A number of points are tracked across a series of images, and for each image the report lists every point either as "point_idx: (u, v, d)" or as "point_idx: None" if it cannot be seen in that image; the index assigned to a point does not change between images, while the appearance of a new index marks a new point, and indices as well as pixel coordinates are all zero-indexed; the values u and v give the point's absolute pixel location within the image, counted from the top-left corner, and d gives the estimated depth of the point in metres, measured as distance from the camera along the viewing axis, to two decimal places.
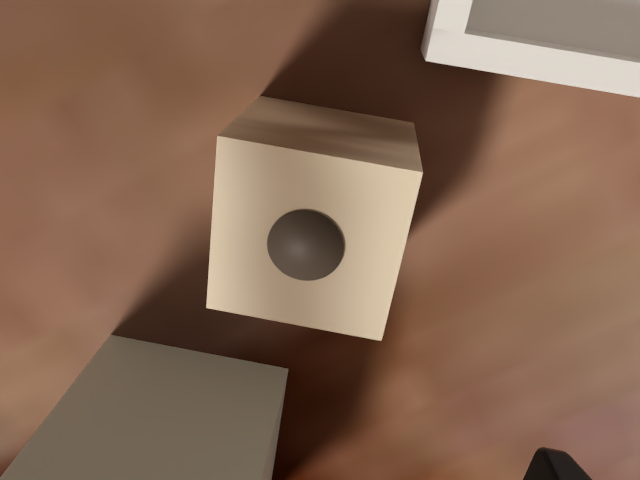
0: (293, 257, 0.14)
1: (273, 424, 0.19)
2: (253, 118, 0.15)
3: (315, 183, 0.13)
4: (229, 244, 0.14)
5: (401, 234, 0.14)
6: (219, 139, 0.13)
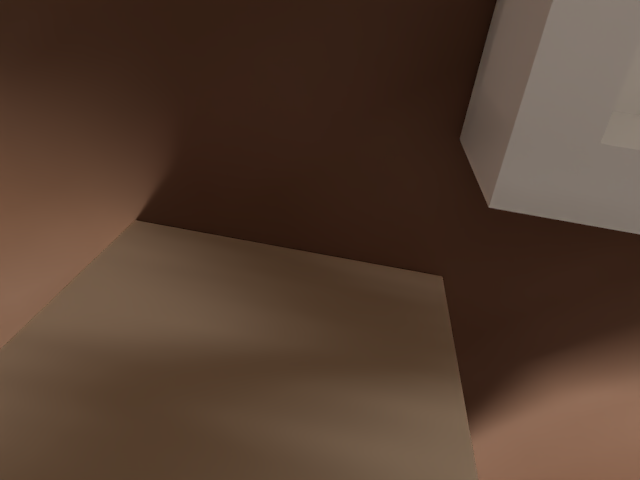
0: None
1: None
2: (63, 329, 0.06)
3: None
4: None
5: None
6: None
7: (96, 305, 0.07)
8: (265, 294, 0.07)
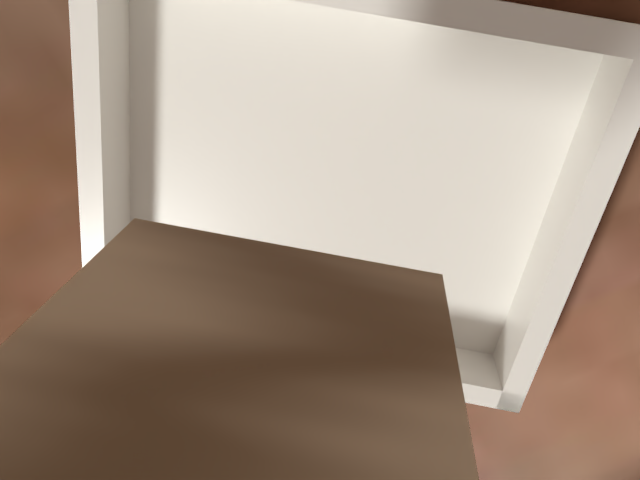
0: None
1: None
2: (62, 327, 0.06)
3: None
4: None
5: None
6: None
7: (95, 303, 0.07)
8: (265, 292, 0.07)
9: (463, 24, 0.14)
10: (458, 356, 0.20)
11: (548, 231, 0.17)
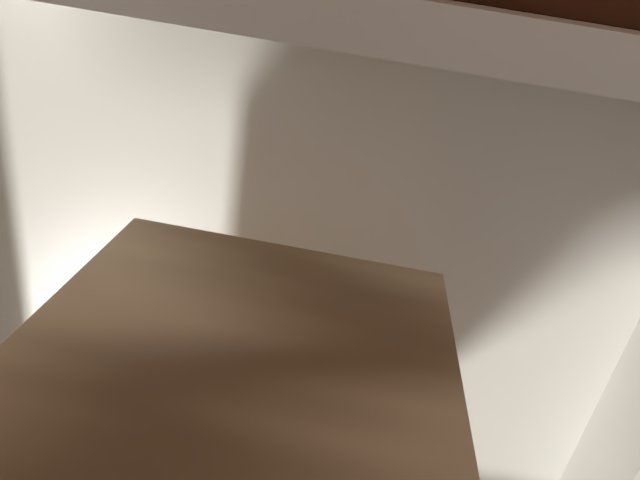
0: None
1: None
2: (62, 326, 0.06)
3: None
4: None
5: None
6: None
7: (95, 302, 0.07)
8: (265, 291, 0.07)
9: (508, 69, 0.07)
10: None
11: (633, 387, 0.11)
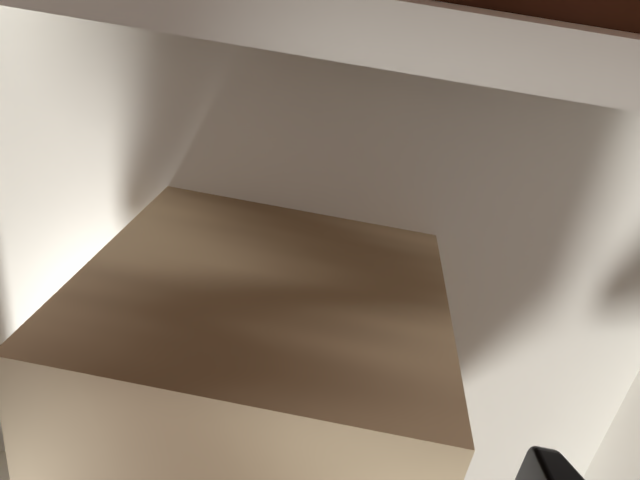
0: None
1: None
2: (119, 265, 0.07)
3: (224, 455, 0.06)
4: None
5: None
6: None
7: (144, 248, 0.08)
8: (284, 244, 0.09)
9: (519, 80, 0.07)
10: None
11: None
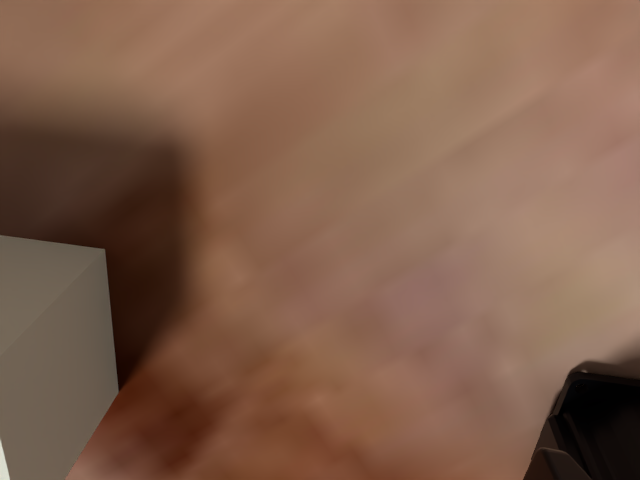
0: None
1: (64, 289, 0.19)
2: None
3: None
4: None
5: None
6: None
7: None
8: None
9: None
10: None
11: None
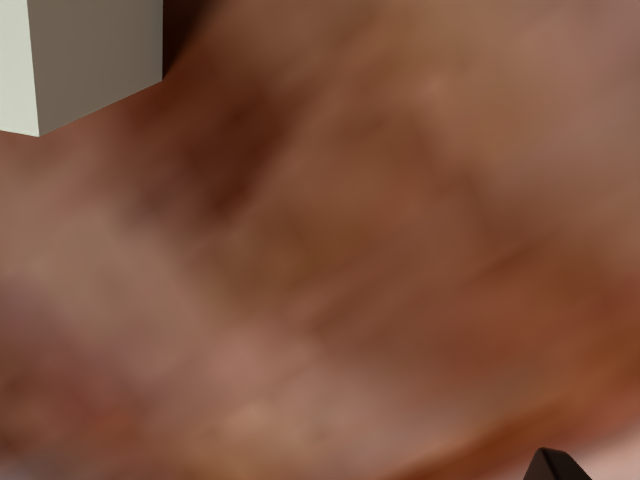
0: None
1: None
2: None
3: None
4: None
5: None
6: None
7: None
8: None
9: None
10: None
11: None
